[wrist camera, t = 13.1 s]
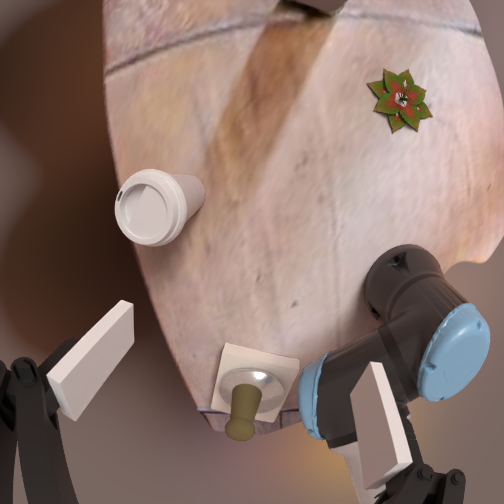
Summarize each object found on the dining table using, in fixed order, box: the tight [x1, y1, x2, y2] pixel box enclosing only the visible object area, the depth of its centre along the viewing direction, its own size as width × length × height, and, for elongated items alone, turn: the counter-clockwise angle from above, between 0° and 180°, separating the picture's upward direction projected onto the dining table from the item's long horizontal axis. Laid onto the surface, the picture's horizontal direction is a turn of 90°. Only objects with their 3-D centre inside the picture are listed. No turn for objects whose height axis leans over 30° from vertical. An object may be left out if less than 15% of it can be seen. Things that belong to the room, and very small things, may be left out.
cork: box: [225, 384, 262, 441], centre depth 44 cm, size 6×6×11 cm
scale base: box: [211, 343, 300, 423], centre depth 53 cm, size 15×19×4 cm
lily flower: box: [367, 69, 433, 133], centre depth 32 cm, size 12×12×5 cm
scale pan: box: [219, 368, 285, 413], centre depth 50 cm, size 13×13×1 cm
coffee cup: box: [115, 169, 205, 247], centre depth 37 cm, size 10×10×15 cm
